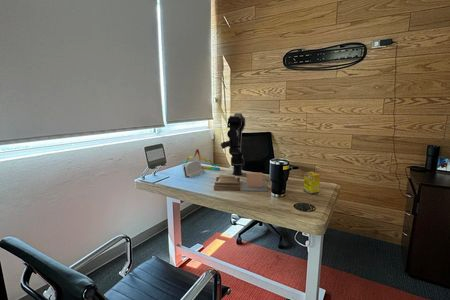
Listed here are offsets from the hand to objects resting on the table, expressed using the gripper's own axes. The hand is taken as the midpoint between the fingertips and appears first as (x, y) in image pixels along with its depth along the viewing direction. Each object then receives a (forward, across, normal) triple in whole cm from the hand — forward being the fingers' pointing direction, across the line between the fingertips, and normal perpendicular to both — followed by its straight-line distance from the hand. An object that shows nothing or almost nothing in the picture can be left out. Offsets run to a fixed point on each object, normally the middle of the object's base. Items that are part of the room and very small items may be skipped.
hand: (234, 161), depth 152 cm
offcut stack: (+13, +3, -4) cm, 14 cm away
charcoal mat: (+13, +10, +12) cm, 20 cm away
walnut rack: (+13, +8, -4) cm, 16 cm away
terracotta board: (+12, +10, +12) cm, 20 cm away
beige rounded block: (+13, -15, -29) cm, 35 cm away
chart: (+14, -30, -26) cm, 42 cm away
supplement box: (+13, +17, +43) cm, 48 cm away
